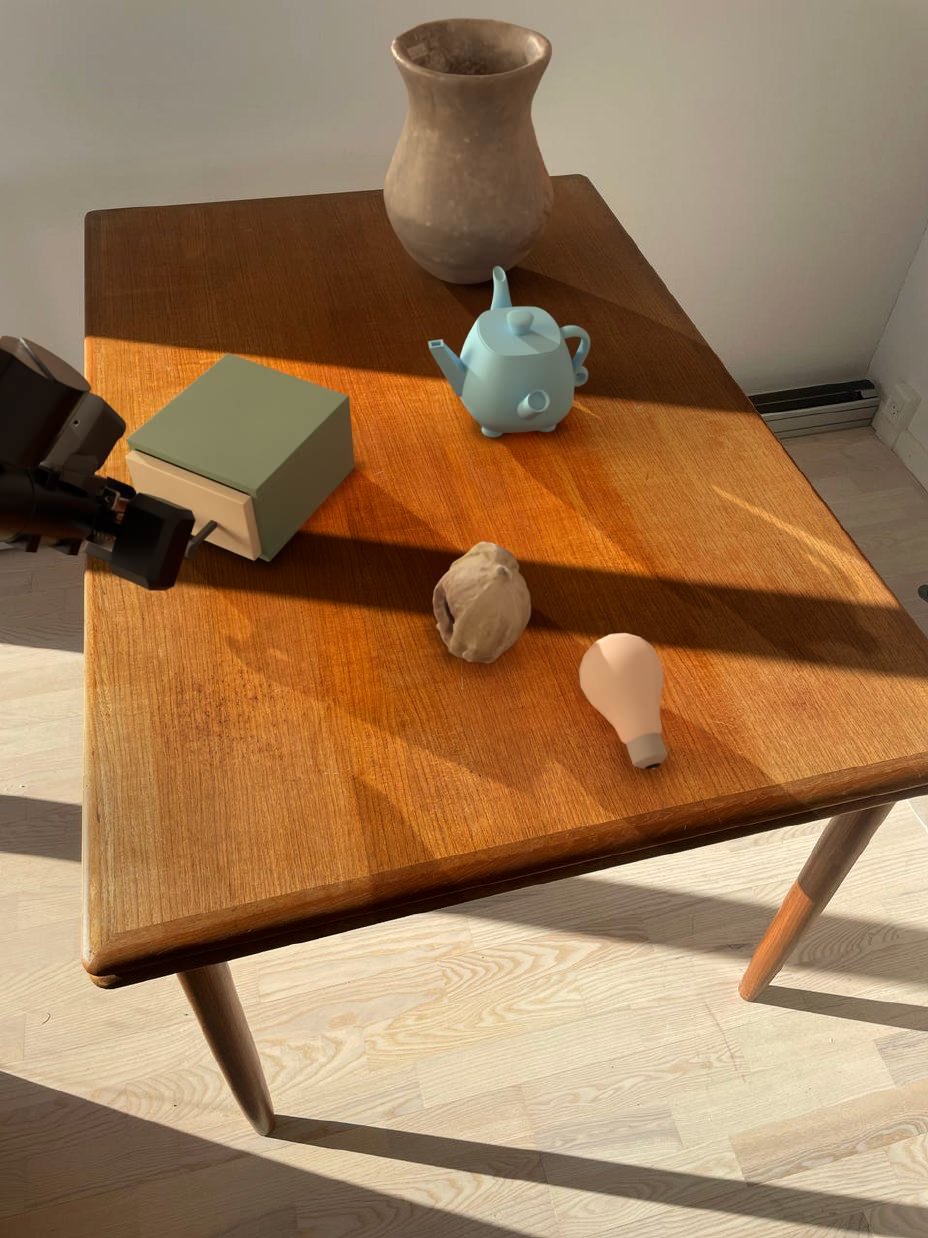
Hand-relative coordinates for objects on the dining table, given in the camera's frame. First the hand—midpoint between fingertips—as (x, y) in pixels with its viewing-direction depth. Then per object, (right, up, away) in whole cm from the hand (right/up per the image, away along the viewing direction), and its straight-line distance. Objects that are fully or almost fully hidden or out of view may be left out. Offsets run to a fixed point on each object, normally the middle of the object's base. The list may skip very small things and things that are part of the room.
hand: (144, 518), depth 79 cm
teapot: (+31, +13, +22) cm, 40 cm away
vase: (+27, +35, +40) cm, 59 cm away
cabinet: (+6, +4, +13) cm, 15 cm away
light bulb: (+39, -16, -3) cm, 42 cm away
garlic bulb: (+27, -10, +2) cm, 29 cm away
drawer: (+4, +2, +11) cm, 12 cm away
